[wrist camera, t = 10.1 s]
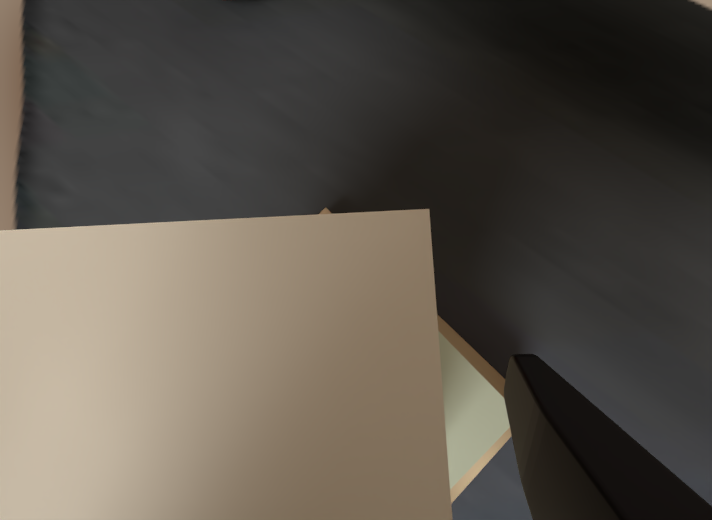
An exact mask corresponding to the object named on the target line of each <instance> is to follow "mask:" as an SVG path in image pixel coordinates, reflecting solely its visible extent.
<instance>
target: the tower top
mask: <svg viewBox="0 0 712 520" xmlns="http://www.w3.org/2000/svg"><path fill="white" fill-rule="evenodd" d="M438 334H439V347H440V361H441V374H442V387H443V401H444V414H445V428H446V441H447V455H448V468H449V481H450V489H451V488H452V487H453V486H454V485H455V484H456V483H457V482H458V481H459V480H460V479H461V478H462V477H463V476H464V475H465V474H466V473H467V472H468V470H469V469H470V468H471V467H472V466H473V465H474V464H475V463H476V462H477V461H478V460H479V459H480V458H481V457H482V456H483V455H484V454H485V453H486V452H487V451H488V450H489V448H490V447H491V446H492V445H493V444H494V443H495V442H496V441H497V440H498V439H499V438H500V437H501V436H502V435H503V434H504V433H505V432H506V431H507V430H508V429H509V427H510V425H509V420H508V415H507V410H506V405H505V400H504V397H503V396H502V395H501V394H500V393H499V392H498V391H497V390H496V389H495V388H494V387H493V386H492V385H491V384H490V383H489V382H488V381H487V380H486V379H485V378H484V377H483V376H482V375H481V374H480V373H479V372H478V371H477V370H476V369H475V368H474V367H473V366H472V365H471V364H470V363H469V362H468V361H467V360H466V359H465V358H464V357H463V356H462V355H461V354H460V352H459V351H458V350H457V349H456V348H455V347H454V346H453V345H452V344H451V343H450V342H449V341H448V340H447V339H446V338H445V337H444V336H443V335H442V334H441V333H440V332H439V331H438Z"/></svg>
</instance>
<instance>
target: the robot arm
mask: <svg viewBox="0 0 712 520" xmlns="http://www.w3.org/2000/svg"><path fill="white" fill-rule="evenodd" d="M504 400H505V405H506V410H507V415H508V420H509V425H510V430H511V435H512V440H513V444H514V449H515V454H516V459H517V464H518V469H519V474H520V478H521V483H522V486H523V489H524V493H525V496H526V499H527V503H528V506H529V509H530V512H531V515H532V518H533V520H712V506H711V505H709V504H708V503H707V502H706V501H705V500H704V499H702V498H701V497H700V496H699V495H698V494H697V493H695V492H694V491H693V490H692V489H691V488H690V487H689V486H687V485H686V484H685V483H684V482H683V481H682V480H680V479H679V478H678V477H677V476H676V475H675V474H673V473H672V472H671V471H670V470H669V469H668V468H666V467H665V466H664V465H663V464H662V463H661V462H660V461H658V460H657V459H656V458H655V457H654V456H653V455H651V454H650V453H649V452H648V451H647V450H646V449H644V448H643V447H642V446H641V445H640V444H639V443H638V442H636V441H635V440H634V439H633V438H632V437H631V436H629V435H628V434H627V433H626V432H625V431H624V430H622V429H621V428H620V427H619V426H618V425H617V424H616V423H614V422H613V421H612V420H611V419H610V418H609V417H607V416H606V415H605V414H604V413H603V412H602V411H600V410H599V409H598V408H597V407H596V406H595V405H593V404H592V403H591V402H590V401H589V400H588V399H587V398H585V397H584V396H583V395H582V394H581V393H580V392H578V391H577V390H576V389H575V388H574V387H573V386H571V385H570V384H569V383H568V382H567V381H566V380H565V379H563V378H562V377H561V376H560V375H559V374H558V373H556V372H555V371H554V370H553V369H552V368H551V367H549V366H548V365H547V364H546V363H545V362H544V361H542V360H541V359H540V358H539V357H538V356H536V355H533V354H515V355H512V356H511V358H510V359H509V363H508V369H507V374H506V379H505V385H504Z"/></svg>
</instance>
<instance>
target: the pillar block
mask: <svg viewBox="0 0 712 520" xmlns="http://www.w3.org/2000/svg"><path fill="white" fill-rule="evenodd" d="M0 520H452V508H451V495H450V481H449V468H448V455H447V441H446V428H445V414H444V401H443V387H442V374H441V361H440V347H439V334H438V320H437V307H436V293H435V280H434V267H433V253H432V240H431V226H430V213H429V209H417V210H397V211H377V212H357V213H338V214H318V215H298V216H278V217H259V218H239V219H219V220H200V221H180V222H160V223H140V224H121V225H101V226H81V227H62V228H42V229H22V230H2V231H0Z"/></svg>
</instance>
